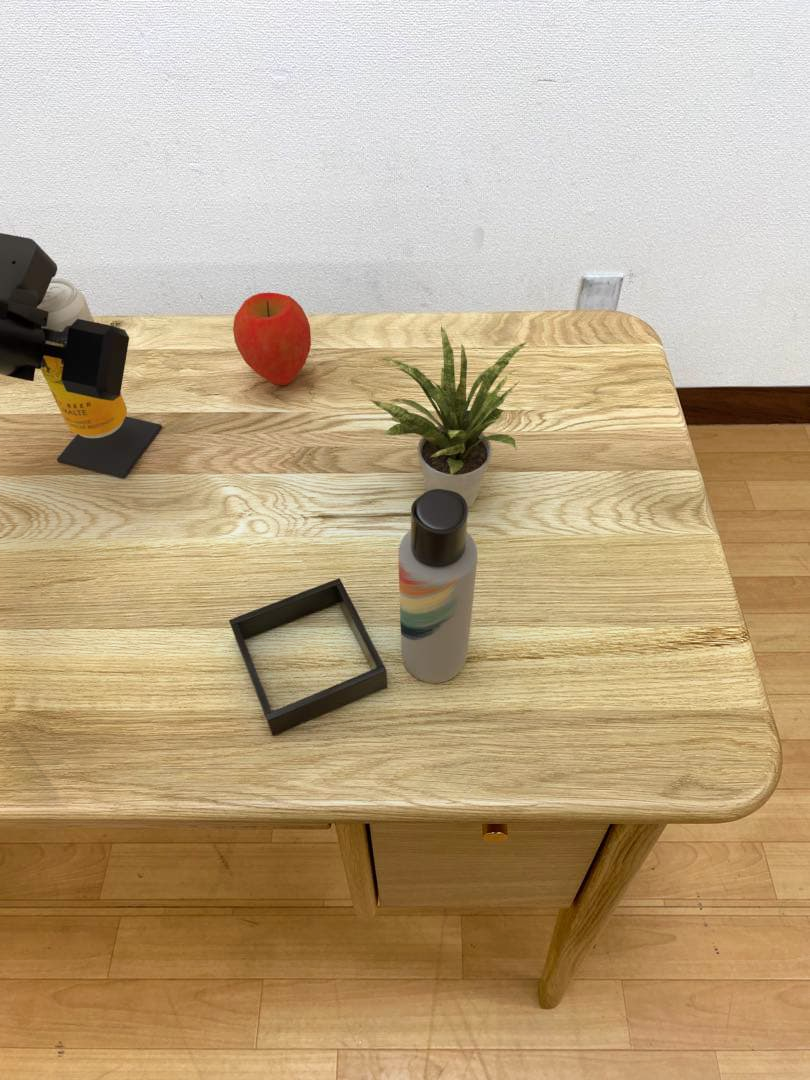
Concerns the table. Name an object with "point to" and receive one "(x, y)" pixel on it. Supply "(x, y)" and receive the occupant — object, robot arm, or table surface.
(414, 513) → the lotion bottle
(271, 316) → the apple
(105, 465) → the mat
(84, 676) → the table surface
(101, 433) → the beer can
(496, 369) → the house plant
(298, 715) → the black square frame
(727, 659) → the table surface
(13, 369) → the robot arm
